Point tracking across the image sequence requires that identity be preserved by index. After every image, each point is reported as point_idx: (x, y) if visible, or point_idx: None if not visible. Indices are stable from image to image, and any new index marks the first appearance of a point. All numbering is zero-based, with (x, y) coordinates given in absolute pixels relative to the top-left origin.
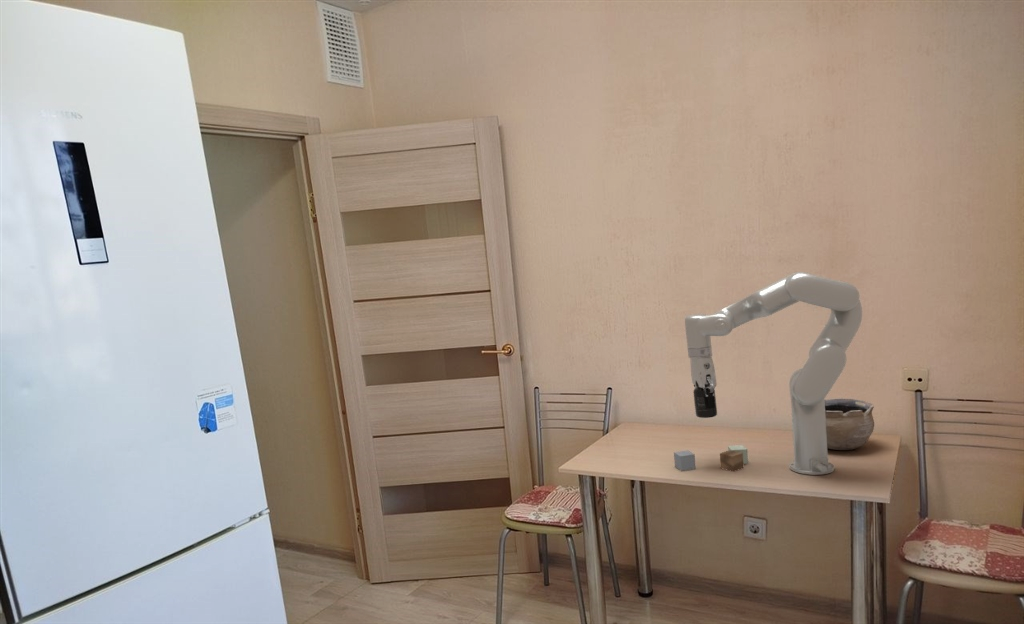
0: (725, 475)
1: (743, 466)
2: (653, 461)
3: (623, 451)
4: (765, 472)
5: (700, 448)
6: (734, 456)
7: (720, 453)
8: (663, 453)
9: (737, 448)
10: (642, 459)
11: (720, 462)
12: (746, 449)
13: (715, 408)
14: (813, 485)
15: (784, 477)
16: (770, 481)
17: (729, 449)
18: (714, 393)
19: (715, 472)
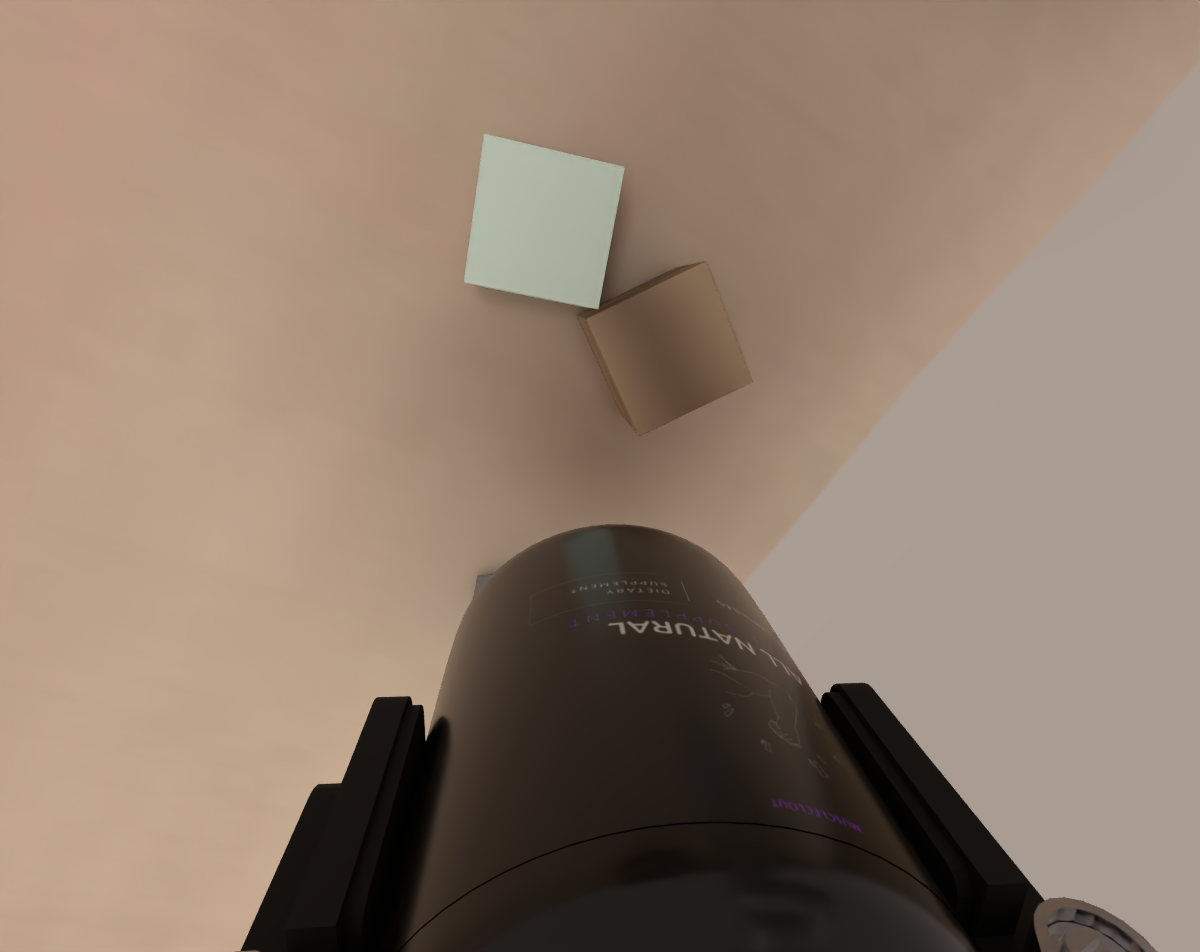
0: (765, 447)
1: (678, 267)
2: (331, 751)
3: (33, 871)
4: (825, 175)
5: (81, 356)
6: (740, 357)
7: (644, 432)
8: (156, 652)
9: (568, 238)
10: (266, 800)
11: (627, 421)
12: (622, 175)
13: (769, 627)
14: (1172, 20)
15: (966, 110)
16: (983, 241)
17: (518, 293)
18: (897, 844)
19: (689, 480)
